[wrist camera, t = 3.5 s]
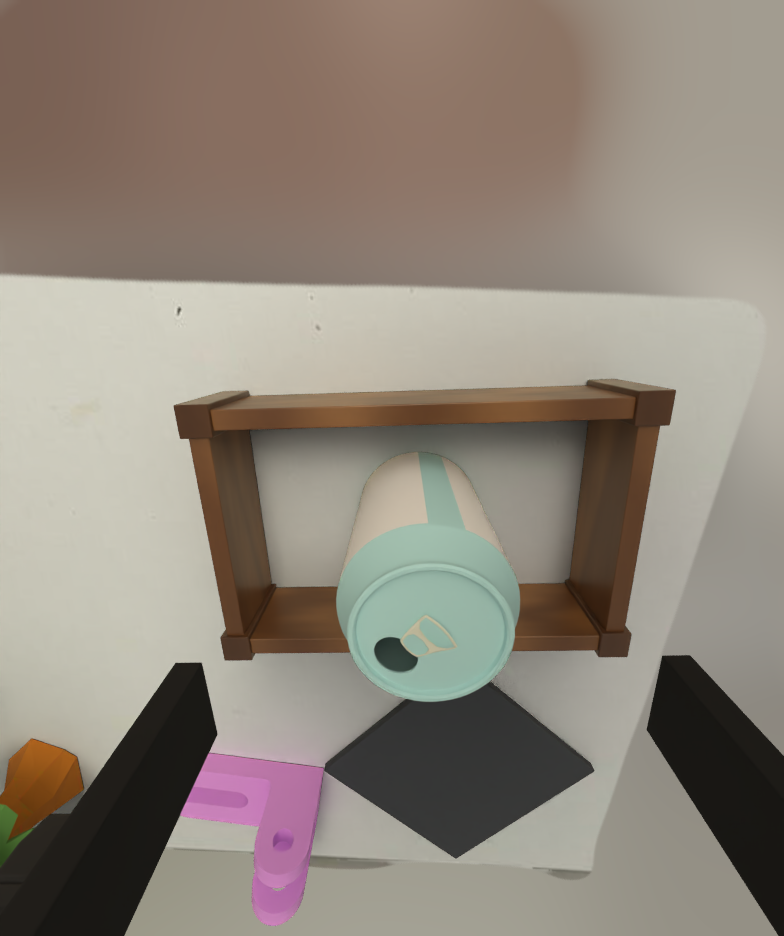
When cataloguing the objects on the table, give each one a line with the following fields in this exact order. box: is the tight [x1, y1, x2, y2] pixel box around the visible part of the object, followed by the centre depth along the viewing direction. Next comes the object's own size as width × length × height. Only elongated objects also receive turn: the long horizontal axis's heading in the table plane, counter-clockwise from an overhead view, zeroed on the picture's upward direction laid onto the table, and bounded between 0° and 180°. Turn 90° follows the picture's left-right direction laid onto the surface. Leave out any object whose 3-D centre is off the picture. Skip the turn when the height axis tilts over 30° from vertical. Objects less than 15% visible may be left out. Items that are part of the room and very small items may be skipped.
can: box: [336, 452, 520, 702], centre depth 19 cm, size 7×7×12 cm
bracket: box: [180, 753, 324, 926], centre depth 30 cm, size 13×6×7 cm, turn 82°
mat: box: [324, 682, 594, 858], centre depth 32 cm, size 15×15×1 cm
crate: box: [174, 379, 676, 660], centre depth 23 cm, size 23×15×5 cm, turn 92°
